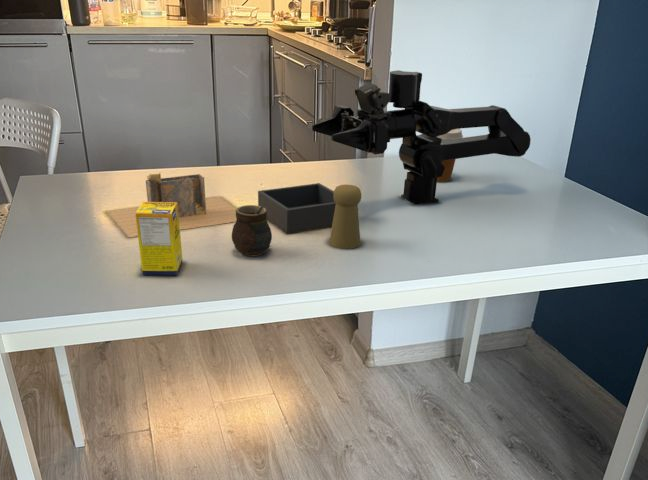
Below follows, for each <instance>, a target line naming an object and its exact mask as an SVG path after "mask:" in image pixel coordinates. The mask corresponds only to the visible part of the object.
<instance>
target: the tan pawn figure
mask: <svg viewBox="0 0 648 480" xmlns="http://www.w3.org/2000/svg"><path fill="white" fill-rule="evenodd" d="M333 191H334V193H333V198H334V201H335V203H336V206H335V212H334V217H333V223H332V227H331V229H330V235H329V241H328V242H329V245H330V246H332V247H334V248H337V249H343V250H344V249H346V250H348V249H355V248H358V247H360V246H361V233H360V218H359V217H360V216H359V206H358V205H359V204H360V202H361V200H362V191H361V189H360V188H359V187H358V186H357V185H353V184H339V185H337V186H336V187H335V188H334V190H333Z"/></svg>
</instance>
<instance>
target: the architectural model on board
mask: <svg viewBox="0 0 648 480" xmlns="http://www.w3.org/2000/svg"><path fill="white" fill-rule="evenodd" d="M205 184H206V183H205V176H203V175H202V174H201V173H196V174H188V175H179V176H170V177H161V172H158V173H153V174H152V173H149V174H148V175H147V176H146V179H145V190H146V198H147V202H177V203H178V214H179V225H180V231H181V230H182V231H183V230H189V229H194V228H202V227H207V226H208V227H209V226H216V225H222V224H228V223H236V219H237V218H236V209H237V208H236V207H234V206H233V205H231V204H230V203H229V202H227V201H226V200H225V199H223V198H222V197H221V196H217V197H208V198H206V185H205ZM138 208H139V207H133V208H126V209H125V208H123V209H117V210H109V211H107V214H108V215H109V216H110V217H111V218H112V220H113V221H114V222H115V223H116V224H117V225H118V227H119V228H120V229H121V230H122V231H123V233H124V234H125V235H126V236H127V237H128V238H135V237H138V232H137V223H136V211H137V210H138Z"/></svg>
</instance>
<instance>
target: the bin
mask: <svg viewBox="0 0 648 480" xmlns="http://www.w3.org/2000/svg"><path fill="white" fill-rule="evenodd" d="M333 193H334V190H333V189H331V188H328V187H327V186H325V185H324V184H322V183H320V182H317V183H309V184H303V185H302V184H301V185H293V186H286V187H278V188H269V189H262V190H258V191H257V206H262V205H264V204H265V206H264V208H265V209H266V210H267V217H266V219H267V221H268V222H270V223H271V224H273V226H275V227H277V228H278V229H280V230H281V231H282V232H284V233H285V234H287V235H289V234H295V233H301V232H307V231H313V230H319V229H326V228H332V223H333V217H334V212H335V206H336V203H335V201H334V198H333Z"/></svg>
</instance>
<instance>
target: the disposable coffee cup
mask: <svg viewBox="0 0 648 480" xmlns="http://www.w3.org/2000/svg"><path fill="white" fill-rule="evenodd" d="M437 137H439V138H441V139H442V140H449V139H457V138H464V135H463V131H462V128H461V129H454V130H451V131H450V132H448V133H447V134H444V135H440V136H437ZM442 164H443V166H444V167H445V169H444V172H443V174H442V176H441V177H437V182H448V181H451V178H452V174H453V170H454V166H455V164H456V159H452V160H445V161H443V162H442Z"/></svg>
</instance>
